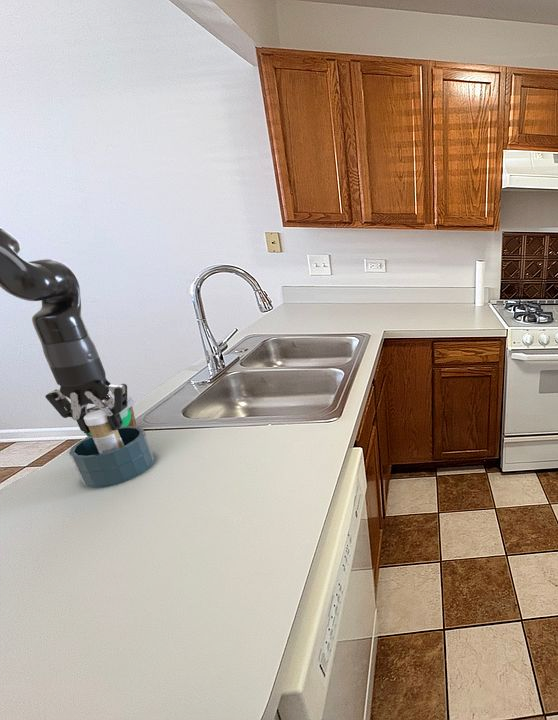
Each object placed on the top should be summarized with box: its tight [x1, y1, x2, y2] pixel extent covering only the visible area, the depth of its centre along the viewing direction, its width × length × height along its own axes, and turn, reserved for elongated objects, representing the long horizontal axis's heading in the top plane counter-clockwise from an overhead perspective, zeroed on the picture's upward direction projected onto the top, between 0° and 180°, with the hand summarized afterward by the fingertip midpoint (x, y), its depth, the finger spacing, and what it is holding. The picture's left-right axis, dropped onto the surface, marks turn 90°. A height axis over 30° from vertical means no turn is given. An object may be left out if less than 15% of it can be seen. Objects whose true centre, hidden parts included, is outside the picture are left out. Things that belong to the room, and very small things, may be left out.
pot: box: [68, 426, 155, 489], centre depth 91 cm, size 13×13×8 cm
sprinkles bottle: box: [84, 410, 124, 454], centre depth 89 cm, size 5×5×13 cm
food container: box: [71, 395, 138, 437], centre depth 102 cm, size 12×6×10 cm, turn 129°
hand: (103, 429), depth 88 cm, fingers closed on sprinkles bottle, 4 cm apart
